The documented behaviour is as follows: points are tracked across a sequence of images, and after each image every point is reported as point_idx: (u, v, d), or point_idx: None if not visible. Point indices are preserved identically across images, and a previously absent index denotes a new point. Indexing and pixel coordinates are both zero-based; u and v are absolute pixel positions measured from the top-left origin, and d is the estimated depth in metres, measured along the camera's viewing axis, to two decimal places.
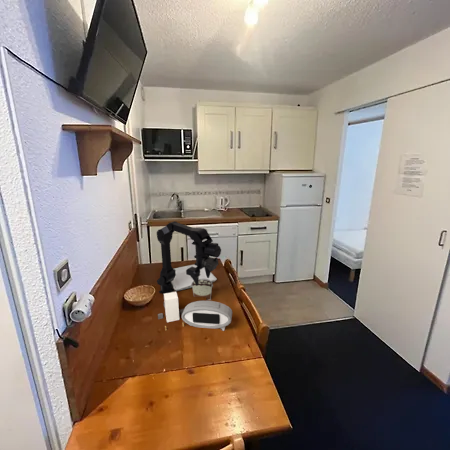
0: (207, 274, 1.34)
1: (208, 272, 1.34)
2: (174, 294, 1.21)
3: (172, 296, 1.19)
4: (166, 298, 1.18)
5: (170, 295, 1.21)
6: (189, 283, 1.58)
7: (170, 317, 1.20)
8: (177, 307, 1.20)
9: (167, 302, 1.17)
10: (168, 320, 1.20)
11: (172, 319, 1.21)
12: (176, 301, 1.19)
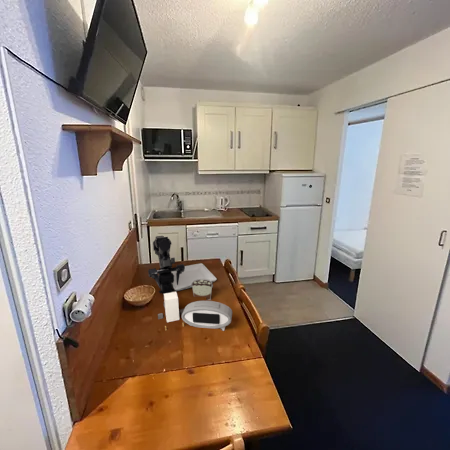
0: None
1: (176, 278, 1.33)
2: (174, 294, 1.21)
3: (172, 296, 1.19)
4: (166, 298, 1.18)
5: (170, 295, 1.21)
6: (189, 283, 1.58)
7: (170, 317, 1.20)
8: (177, 307, 1.20)
9: (167, 302, 1.17)
10: (168, 320, 1.20)
11: (172, 319, 1.21)
12: (176, 301, 1.19)
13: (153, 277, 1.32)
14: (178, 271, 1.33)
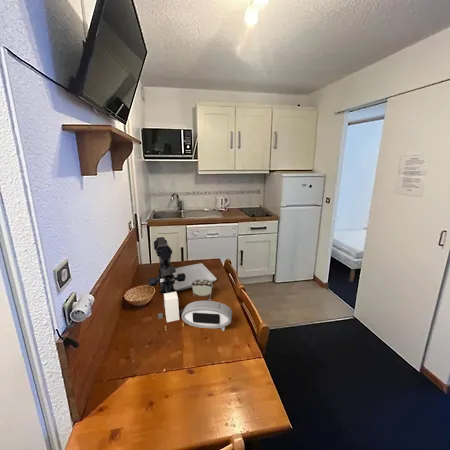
0: None
1: (169, 289, 1.30)
2: (174, 294, 1.21)
3: (172, 296, 1.19)
4: (166, 298, 1.18)
5: (170, 295, 1.21)
6: (189, 283, 1.58)
7: (170, 317, 1.20)
8: (177, 307, 1.20)
9: (167, 302, 1.17)
10: (168, 320, 1.20)
11: (172, 319, 1.21)
12: (176, 301, 1.19)
13: (162, 285, 1.32)
14: (170, 281, 1.30)
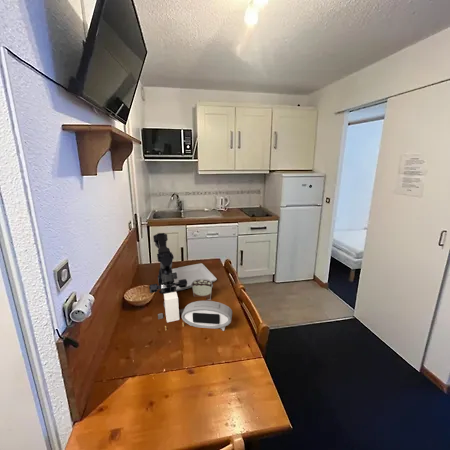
0: None
1: None
2: (174, 294, 1.21)
3: (172, 296, 1.19)
4: (166, 298, 1.18)
5: (170, 295, 1.21)
6: (189, 283, 1.58)
7: (170, 317, 1.20)
8: (177, 307, 1.20)
9: (167, 302, 1.17)
10: (168, 320, 1.20)
11: (172, 319, 1.21)
12: (176, 301, 1.19)
13: (163, 291, 1.28)
14: (172, 288, 1.26)
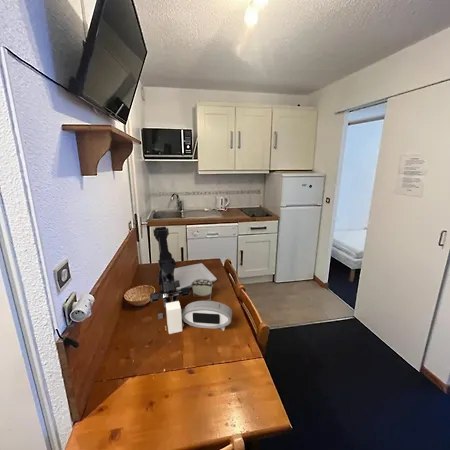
0: None
1: None
2: (176, 304, 1.13)
3: (175, 306, 1.12)
4: (168, 308, 1.10)
5: (173, 305, 1.13)
6: (189, 283, 1.58)
7: (172, 329, 1.12)
8: (180, 318, 1.12)
9: (169, 313, 1.10)
10: (170, 332, 1.12)
11: (174, 331, 1.13)
12: (179, 311, 1.11)
13: (165, 300, 1.21)
14: (174, 297, 1.18)
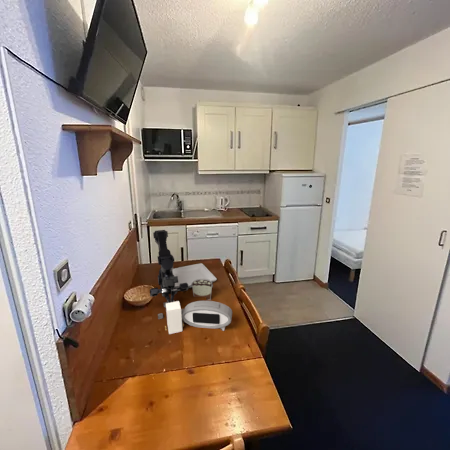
0: None
1: (171, 300, 1.24)
2: (176, 304, 1.13)
3: (175, 307, 1.12)
4: (168, 308, 1.10)
5: (173, 305, 1.13)
6: (189, 283, 1.58)
7: (172, 329, 1.12)
8: (180, 318, 1.12)
9: (169, 313, 1.09)
10: (170, 332, 1.12)
11: (174, 331, 1.13)
12: (179, 312, 1.11)
13: (164, 295, 1.26)
14: (172, 292, 1.24)
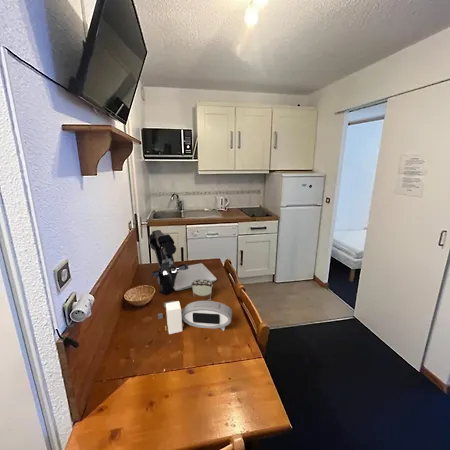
0: None
1: None
2: (176, 304, 1.13)
3: (175, 307, 1.12)
4: (168, 308, 1.10)
5: (173, 305, 1.13)
6: (189, 283, 1.58)
7: (172, 329, 1.12)
8: (180, 318, 1.12)
9: (169, 313, 1.09)
10: (170, 332, 1.12)
11: (174, 331, 1.13)
12: (179, 312, 1.11)
13: None
14: (172, 274, 1.31)
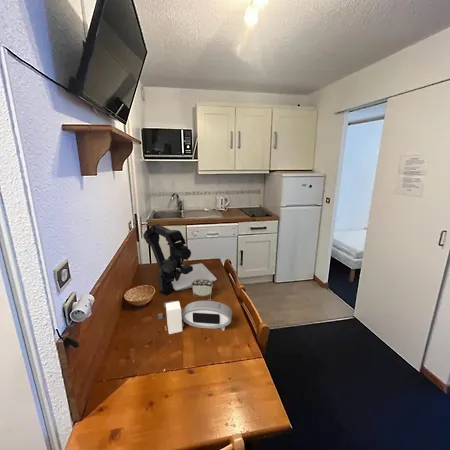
0: None
1: None
2: (176, 304, 1.13)
3: (175, 307, 1.12)
4: (168, 308, 1.10)
5: (173, 305, 1.13)
6: (189, 283, 1.58)
7: (172, 329, 1.12)
8: (180, 318, 1.12)
9: (169, 313, 1.09)
10: (170, 332, 1.12)
11: (174, 331, 1.13)
12: (179, 312, 1.11)
13: None
14: (175, 272, 1.33)
